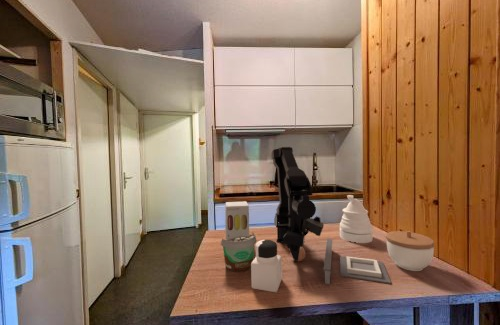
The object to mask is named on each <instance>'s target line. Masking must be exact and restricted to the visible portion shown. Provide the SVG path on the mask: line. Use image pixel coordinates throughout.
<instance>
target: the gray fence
mask: <svg viewBox="0 0 500 325" xmlns="http://www.w3.org/2000/svg"><path fill="white" fill-rule="evenodd" d="M324 254H325V255H324V263H323V271H324V284H326V285H328V286H329V285H330V284H331V283H330V282H331V270H332V254H333V239H332V238H327V239H326V247H325V253H324Z"/></svg>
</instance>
